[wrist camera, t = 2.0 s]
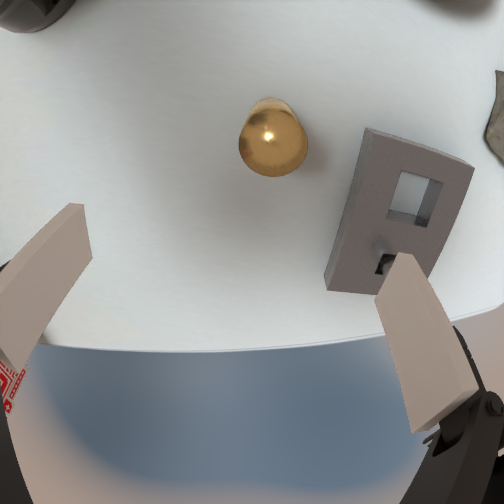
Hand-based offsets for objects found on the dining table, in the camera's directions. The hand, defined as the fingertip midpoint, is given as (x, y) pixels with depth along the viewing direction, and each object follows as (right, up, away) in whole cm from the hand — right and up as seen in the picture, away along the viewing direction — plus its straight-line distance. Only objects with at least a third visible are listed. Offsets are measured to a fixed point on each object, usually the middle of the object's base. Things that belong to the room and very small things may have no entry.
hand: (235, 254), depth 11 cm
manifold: (+18, +4, +22) cm, 29 cm away
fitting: (+3, +14, +16) cm, 21 cm away
